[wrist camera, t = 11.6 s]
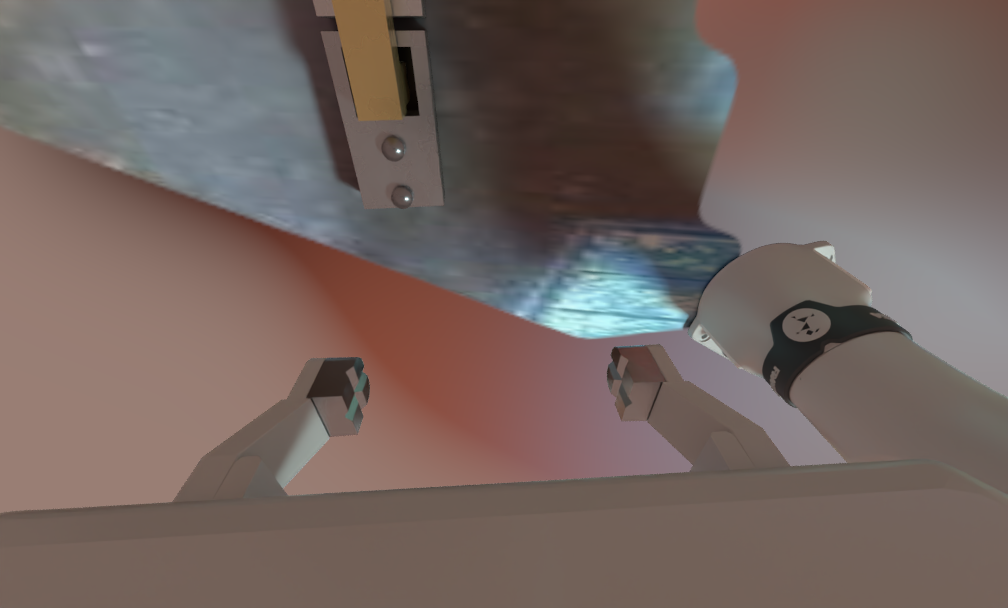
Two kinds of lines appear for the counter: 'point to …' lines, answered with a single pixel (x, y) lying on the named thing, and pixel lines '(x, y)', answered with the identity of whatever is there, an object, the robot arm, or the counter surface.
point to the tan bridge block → (372, 59)
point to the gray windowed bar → (392, 125)
